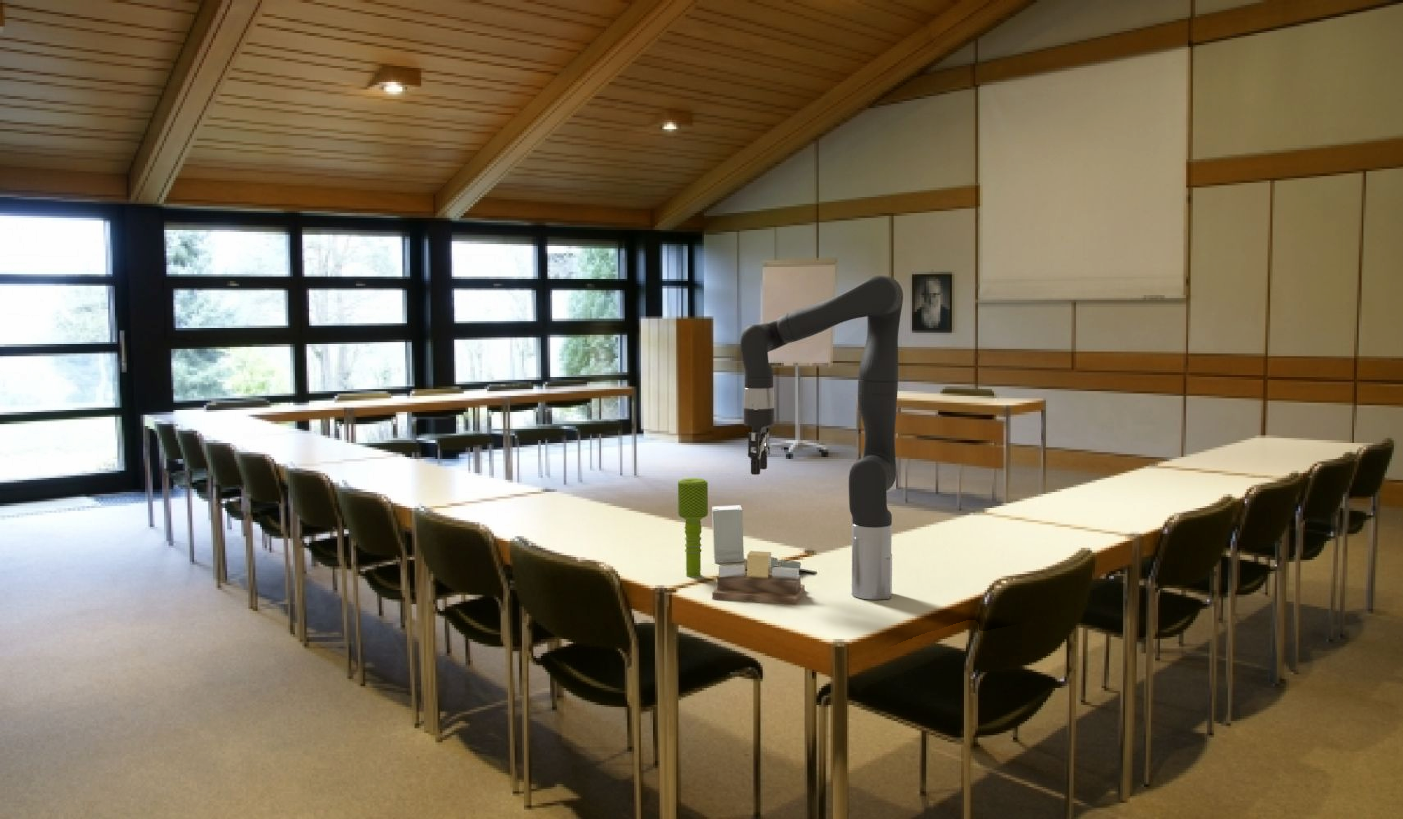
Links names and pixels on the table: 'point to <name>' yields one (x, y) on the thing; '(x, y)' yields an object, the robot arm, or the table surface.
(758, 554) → the natural wood cube
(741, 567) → the grey bar
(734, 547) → the skincare box
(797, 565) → the metal bracket
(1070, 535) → the table surface
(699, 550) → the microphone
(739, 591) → the base
